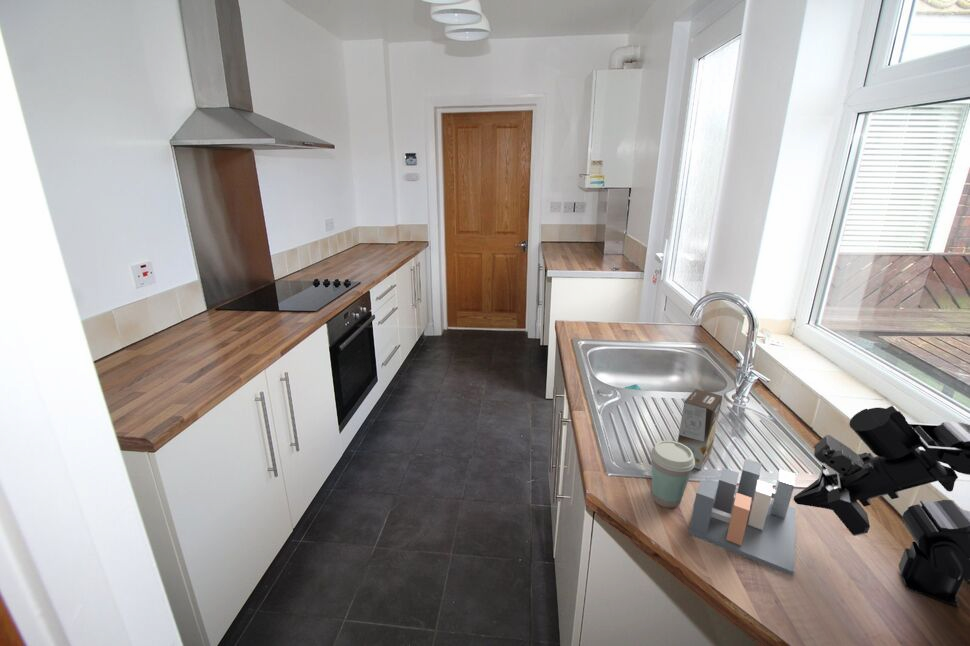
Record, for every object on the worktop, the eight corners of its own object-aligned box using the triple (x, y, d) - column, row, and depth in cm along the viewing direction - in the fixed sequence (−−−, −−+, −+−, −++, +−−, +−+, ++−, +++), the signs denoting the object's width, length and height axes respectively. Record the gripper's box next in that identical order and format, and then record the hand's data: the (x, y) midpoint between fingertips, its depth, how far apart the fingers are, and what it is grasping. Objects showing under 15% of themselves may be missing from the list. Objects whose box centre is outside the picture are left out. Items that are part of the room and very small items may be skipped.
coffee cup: (688, 517, 91) (697, 467, 87) (644, 506, 94) (651, 458, 90) (686, 490, 98) (694, 443, 94) (645, 481, 101) (652, 435, 97)
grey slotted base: (794, 512, 92) (805, 474, 89) (792, 576, 78) (805, 534, 74) (704, 481, 101) (711, 446, 98) (688, 534, 87) (695, 494, 83)
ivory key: (764, 517, 89) (772, 484, 86) (762, 530, 86) (771, 496, 83) (724, 503, 93) (731, 471, 90) (722, 515, 89) (729, 482, 87)
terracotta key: (743, 531, 85) (751, 497, 83) (741, 545, 82) (749, 510, 80) (703, 516, 89) (710, 483, 86) (700, 529, 86) (706, 495, 83)
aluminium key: (785, 506, 92) (794, 474, 89) (785, 518, 89) (794, 485, 86) (747, 493, 95) (754, 461, 93) (745, 504, 92) (752, 472, 90)
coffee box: (701, 471, 104) (713, 410, 99) (673, 460, 108) (683, 401, 103) (712, 452, 111) (723, 395, 106) (685, 443, 115) (694, 387, 110)
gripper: (851, 408, 82) (768, 440, 91) (863, 460, 67) (762, 492, 76) (894, 459, 80) (805, 486, 90) (916, 524, 65) (807, 548, 75)
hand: (795, 500), depth 83 cm, fingers closed
